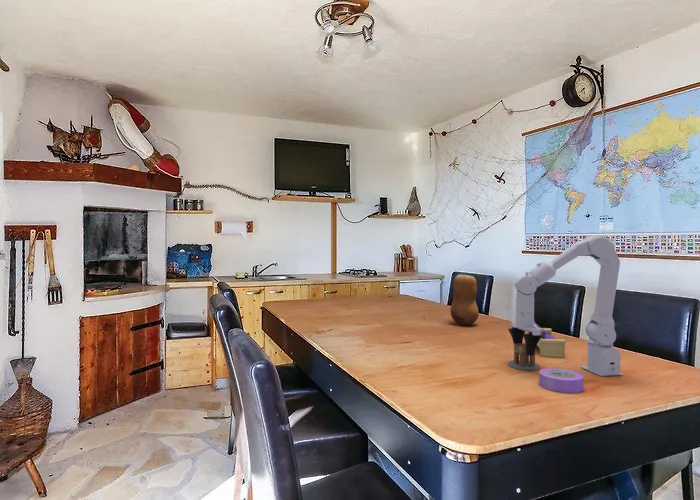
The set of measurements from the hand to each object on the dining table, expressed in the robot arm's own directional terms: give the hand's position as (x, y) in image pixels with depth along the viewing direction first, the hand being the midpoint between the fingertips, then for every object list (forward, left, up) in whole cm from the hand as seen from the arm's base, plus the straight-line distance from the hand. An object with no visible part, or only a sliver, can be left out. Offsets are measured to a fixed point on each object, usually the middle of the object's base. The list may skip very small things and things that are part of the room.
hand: (524, 352), depth 148 cm
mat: (0, 0, -5) cm, 5 cm away
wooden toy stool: (0, 0, -4) cm, 4 cm away
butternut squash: (+70, -9, -5) cm, 71 cm away
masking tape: (-20, 0, -5) cm, 21 cm away
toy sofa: (+19, -20, -5) cm, 28 cm away
